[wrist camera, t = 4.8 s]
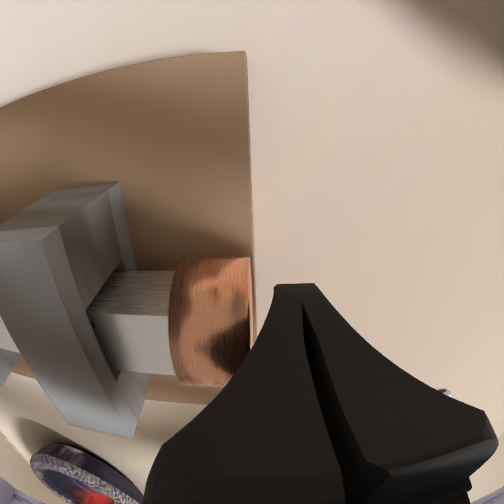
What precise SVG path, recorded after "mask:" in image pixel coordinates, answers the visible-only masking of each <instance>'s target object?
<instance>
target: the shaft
mask: <svg viewBox="0 0 504 504" xmlns="http://www.w3.org/2000/svg"><path fill="white" fill-rule="evenodd" d="M85 311H86V314H87V316H88V319H89V321H90V324H91V326H92V329H93V331H94V334H95V336H96V339H97V341H98V343H99V346H100V348H101V350H102V352H103V355H104V357H105V359H106V361H107V364H108V366H109V368H110V369H113V370H122V371H131V372H141V373H151V374H164V375H176V377H177V379H178V380H179V382H180V383H181V384H182V385H184V386H202V387H225V385H226V384H227V383H228V382H229V380H230V379H231V378H232V376H233V375H234V374H235V372H236V371H237V370H238V368H239V367H240V366H241V364H242V363H243V361H244V360H245V358H246V356H247V355H248V353H249V352H250V350H251V348H252V346H253V305H252V279H251V264H250V258H249V257H244V258H195V259H182V260H181V261H180V262H179V263H178V265H177V267H176V270H168V271H113V272H112V274H111V275H110V276H109V278H108V279H107V280H106V282H105V283H104V285H103V286H102V287H101V289H100V290H99V292H98V293H97V294H96V296H95V297H94V299H93V300H92V302H91V303H90V305H89V306H88V307H87V309H86V310H85ZM0 348H2V349H6V350H10V351H14V352H18V353H20V352H19V350H18V348H17V347H16V345H15V343H14V341H13V339H12V337H11V336H10V334H9V332H8V330H7V328H6V326H5V324H4V322H3V320H2V318H1V316H0Z"/></svg>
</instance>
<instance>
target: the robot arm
mask: <svg viewBox="0 0 504 504" xmlns="http://www.w3.org/2000/svg"><path fill="white" fill-rule="evenodd" d="M497 447H498V439H497V436H496V434H495V432H494V430H493V428H492V426H491V424H490V421H489V419H488V417H487V415H486V414H485V412H484V411H483V410H480V409H478V408H475V407H473V406H470V405H468V404H465V403H463V402H461V401H458V400H456V399H453V398H452V394H451V392H450V391H447V392H443V393H441V392H439V391H437V390H436V389H434V388H432V387H430V386H428V385H426V384H425V383H423V382H421V381H420V380H418V379H416V378H415V377H413V376H412V375H410V374H409V373H407V372H406V371H404V370H402V369H401V368H399V367H398V366H397V365H395V364H394V363H392V362H391V361H390V360H388V359H387V358H386V357H385V356H383V355H382V354H381V353H380V352H378V351H377V350H376V349H375V348H373V347H372V346H371V345H370V344H369V343H368V342H367V341H366V340H365V339H364V338H363V337H361V336H360V335H359V334H358V333H357V332H356V331H355V330H354V329H353V328H352V327H351V326H350V325H349V323H348V322H347V321H346V320H345V319H344V318H343V317H342V316H341V315H340V314H339V312H338V311H337V310H336V309H335V308H334V307H333V305H332V304H331V303H330V302H329V301H328V299H327V298H326V297H325V296H324V295H323V293H322V292H321V291H320V289H319V288H318V287H317V286H316V285H315V284H314V283H303V284H277V285H276V286H275V287H274V295H273V300H272V303H271V307H270V310H269V312H268V315H267V317H266V320H265V322H264V325H263V327H262V329H261V331H260V333H259V335H258V337H257V339H256V341H255V343H254V345H253V346H252V348H251V350H250V352H249V353H248V355H247V356H246V358H245V360H244V361H243V363H242V364H241V366H240V367H239V368H238V370H237V371H236V372H235V374H234V375H233V376H232V378H231V379H230V380H229V382H228V383H227V384H226V385H225V387H224V388H223V389H222V390H221V391H220V393H219V394H218V395H217V396H216V397H215V398H214V399H213V400H212V401H211V402H210V403H209V404H208V405H207V406H206V407H205V408H204V409H203V410H202V411H201V412H200V413H199V414H198V415H197V416H196V417H195V418H194V419H193V420H192V421H191V422H190V423H188V424H187V425H186V426H185V427H184V428H182V429H181V430H180V431H179V432H178V433H176V434H175V435H174V436H173V437H172V438H170V439H169V440H168V441H167V442H165V443H164V444H163V445H162V447H161V448H160V450H159V452H158V454H157V456H156V458H155V461H154V463H153V465H152V468H151V470H150V473H149V476H148V478H147V482H146V487H145V492H144V497H143V503H142V504H504V486H503V487H502V488H500V489H498V490H496V491H494V492H492V493H490V494H488V495H487V496H484V497H482V498H480V499H478V500H476V501H474V502H472V503H470V501H469V497H468V494H467V492H468V491H469V490H471V488H472V485H471V482H470V479H469V476H471V475H472V474H473V473H474V472H475V471H476V470H477V469H479V468H480V467H481V466H482V465H483V464H484V463H485V462H486V461H487V460H488V459H489V458H490V457H491V456H492V455H493V454H494V452H495V451H496V449H497ZM0 504H45V503H43V502H41V501H39V500H37V499H34V498H33V497H30V496H28V495H26V494H24V493H23V492H21V491H19V490H17V489H15V488H14V487H13V486H12V485H11V484H9V483H8V482H7V481H6V480H4V479H3V478H1V477H0Z"/></svg>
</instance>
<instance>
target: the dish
mask: <svg viewBox="0 0 504 504" xmlns="http://www.w3.org/2000/svg"><path fill="white" fill-rule="evenodd" d="M30 464H31V468H32V470H33V472H34V474H35V475H36V476H37V478H38V479H39V480H40V481H41V482H42V483H43V484H44V485H45V486H46V487H47V488H48V489H50V490H51V491H52V492H53V493H54V494H56V495H57V496H58V497H60V498H62V499H63V500H64V501H66V502H67V503H69V504H142V503H143V497H144V496H143V495H142V493H141V492H140V491H139V490H138V489H137V488H136V487H135V486H134V485H133V484H132V483H131V482H130V481H129V480H127V479H126V478H125V477H124V476H122V475H121V474H120V473H119V472H117V471H116V470H114V469H113V468H112V467H110V466H108V465H107V464H105V463H104V462H102V461H100V460H98V459H97V458H95V457H93V456H91V455H89V454H87V453H85V452H83V451H81V450H78V449H76V448H73V447H70V446H68V445H63V444H50V445H48V446H45V447H43V448H41V449H40V450H39V451H38V452H37V453H35V454H33V455H32V457H31V459H30Z"/></svg>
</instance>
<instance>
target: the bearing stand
mask: <svg viewBox="0 0 504 504" xmlns="http://www.w3.org/2000/svg"><path fill="white" fill-rule="evenodd" d="M244 257H249V258H250V264H251V279H252V305H253V345H254V343H255V341H256V339H257V324H256V295H255V267H254V239H253V211H252V184H251V157H250V130H249V104H248V77H247V57H246V53H245V51H234V52H219V53H208V54H198V55H190V56H182V57H175V58H168V59H162V60H156V61H150V62H145V63H140V64H135V65H130V66H125V67H121V68H116V69H112V70H108V71H104V72H100V73H96V74H93V75H89V76H86V77H82V78H79V79H75V80H72V81H69V82H66V83H63V84H60V85H57V86H54V87H51V88H48V89H45V90H42V91H40V92H37V93H34V94H32V95H29V96H27V97H24V98H22V99H19V100H17V101H15V102H12V103H10V104H8V105H5V106H3V107H1V108H0V316H1V318H2V320H3V322H4V324H5V326H6V328H7V330H8V332H9V334H10V336H11V337H12V339H13V341H14V343H15V345H16V347H17V348H18V350H19V352H20V353H18V352H14V351H10V350H6V349H2V348H0V389H1V387H2V385H3V384H4V382H5V381H6V379H7V377H8V376H9V374H10V373H11V372H13V373H16V374H20V375H23V376H27V377H31V378H34V379H36V380H37V381H38V383H39V384H40V386H41V387H42V389H43V390H44V392H45V393H46V395H47V396H48V397H49V399H50V400H51V402H52V403H53V404H54V406H55V407H56V409H57V410H58V411H59V413H60V414H61V415H62V417H63V418H64V419H65V420H66V422H67V423H68V424H69V425H73V426H77V427H80V428H84V429H88V430H93V431H97V432H101V433H106V434H111V435H116V436H121V437H126V438H132V439H133V437H134V433H135V430H136V426H137V423H138V420H139V416H140V413H141V410H142V406H143V403H144V400H145V399H148V400H157V401H167V402H179V403H194V404H209V403H210V402H211V401H212V400H213V399H214V398H215V397H216V396H217V395H218V394H219V393H220V391H221V390H222V389H223V388H224V387H202V386H184V385H182V384H181V383H180V382H179V380H178V379H177V377H176V375H164V374H151V373H141V372H131V371H122V370H113V369H110V368H109V366H108V364H107V361H106V359H105V357H104V355H103V352H102V350H101V348H100V346H99V343H98V341H97V339H96V336H95V334H94V331H93V329H92V326H91V324H90V321H89V319H88V316H87V314H86V311H85V310H86V309H87V307H88V306H89V305H90V303H91V302H92V300H93V299H94V297H95V296H96V294H97V293H98V292H99V290H100V289H101V287H102V286H103V285H104V283H105V282H106V280H107V279H108V278H109V276H110V275H111V274H112V272H113V271H168V270H176V267H177V265H178V263H179V262H180V261H181V260H182V259H195V258H244Z"/></svg>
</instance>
